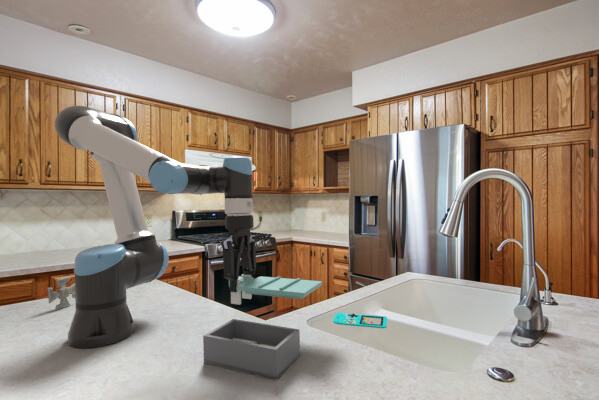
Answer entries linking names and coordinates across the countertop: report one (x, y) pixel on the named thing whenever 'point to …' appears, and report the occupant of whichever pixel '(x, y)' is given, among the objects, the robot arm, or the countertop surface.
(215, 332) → the tub
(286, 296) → the lid
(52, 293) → the cross
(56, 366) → the countertop surface
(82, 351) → the countertop surface
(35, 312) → the countertop surface
